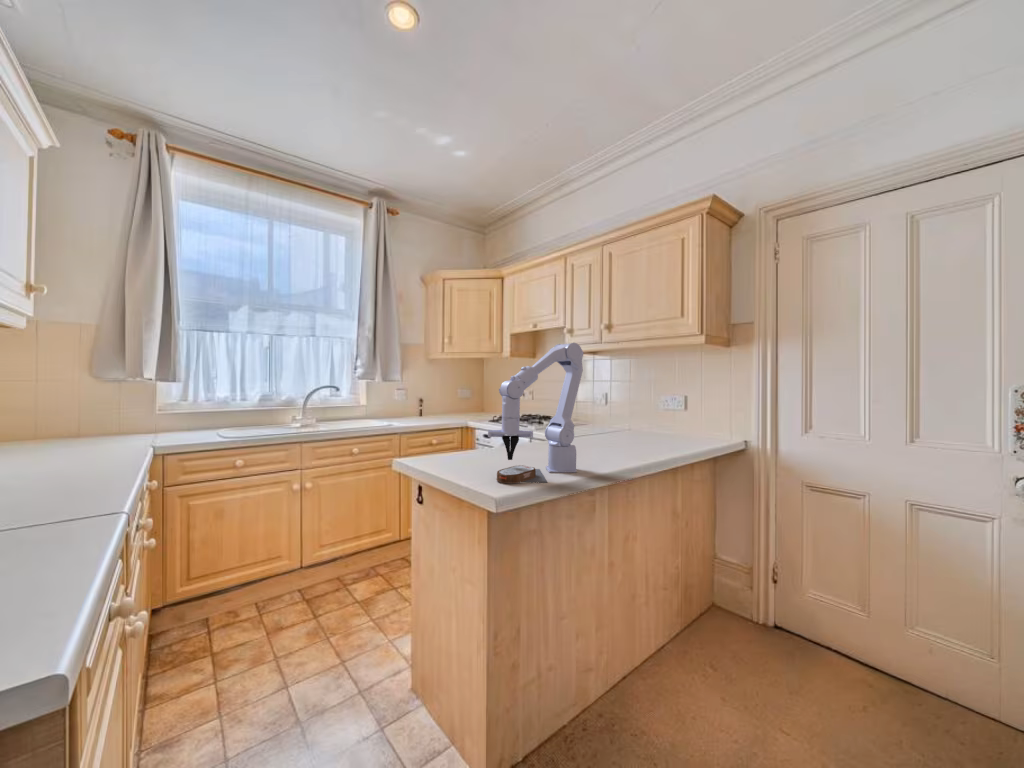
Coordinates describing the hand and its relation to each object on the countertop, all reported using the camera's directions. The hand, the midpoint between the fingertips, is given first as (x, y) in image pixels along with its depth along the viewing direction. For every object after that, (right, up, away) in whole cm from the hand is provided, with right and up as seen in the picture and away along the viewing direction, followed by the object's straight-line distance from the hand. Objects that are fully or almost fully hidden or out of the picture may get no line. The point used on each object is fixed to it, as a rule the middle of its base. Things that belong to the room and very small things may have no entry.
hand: (509, 459), depth 134 cm
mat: (+5, -6, +1) cm, 8 cm away
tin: (-1, -4, -1) cm, 4 cm away
